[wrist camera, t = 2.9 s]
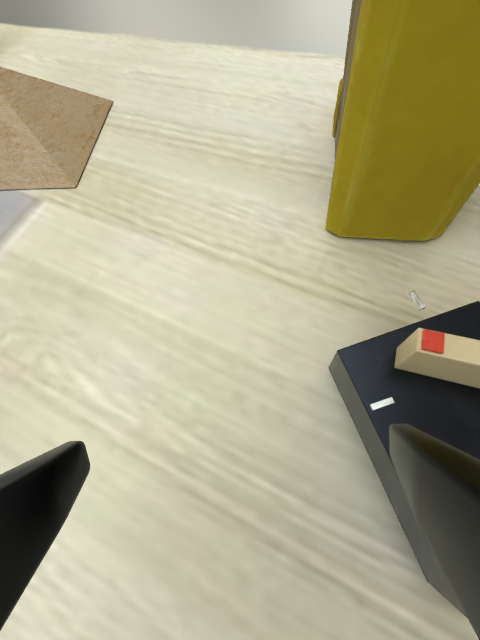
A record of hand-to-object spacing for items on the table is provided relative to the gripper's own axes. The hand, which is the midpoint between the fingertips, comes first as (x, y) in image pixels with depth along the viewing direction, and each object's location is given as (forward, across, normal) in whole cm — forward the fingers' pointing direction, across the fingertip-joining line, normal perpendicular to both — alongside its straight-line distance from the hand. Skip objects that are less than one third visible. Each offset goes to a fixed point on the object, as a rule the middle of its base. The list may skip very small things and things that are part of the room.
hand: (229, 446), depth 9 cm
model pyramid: (+36, +28, -24) cm, 51 cm away
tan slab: (+11, -13, +3) cm, 17 cm away
